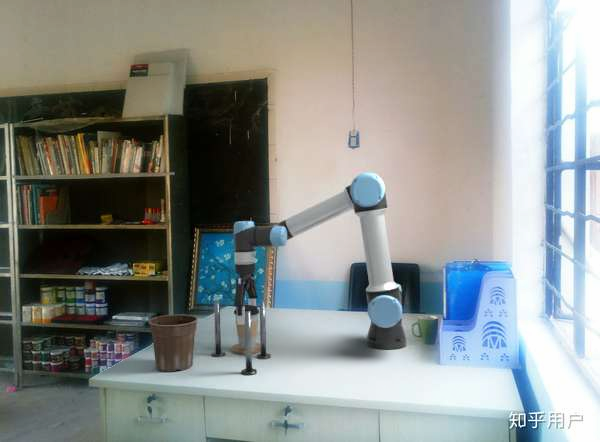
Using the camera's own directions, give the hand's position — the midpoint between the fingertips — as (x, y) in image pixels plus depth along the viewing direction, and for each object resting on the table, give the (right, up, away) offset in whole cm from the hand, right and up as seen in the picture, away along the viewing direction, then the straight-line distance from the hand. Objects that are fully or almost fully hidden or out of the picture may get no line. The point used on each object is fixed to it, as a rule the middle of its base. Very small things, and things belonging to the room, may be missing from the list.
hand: (246, 319), depth 197 cm
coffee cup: (0, -10, 0) cm, 10 cm away
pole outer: (+3, -12, -25) cm, 28 cm away
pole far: (-10, -12, -5) cm, 16 cm away
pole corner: (+7, -12, -9) cm, 16 cm away
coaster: (0, -11, +1) cm, 11 cm away
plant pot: (-23, -13, -17) cm, 31 cm away
